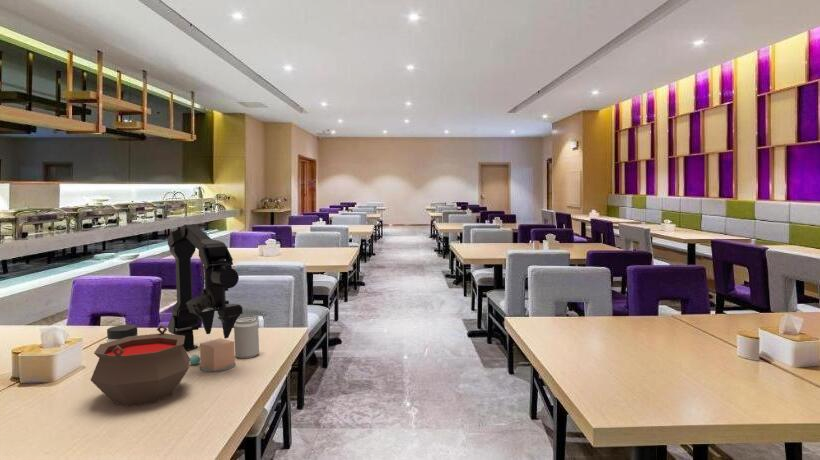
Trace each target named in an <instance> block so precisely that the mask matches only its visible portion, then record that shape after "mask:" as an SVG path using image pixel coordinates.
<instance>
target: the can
mask: <svg viewBox="0 0 820 460" xmlns="http://www.w3.org/2000/svg"><path fill="white" fill-rule="evenodd" d="M233 333H234V334H233V336H234V337H233V339H234V355H235V356H236V357H237V358H239V359H252V358H255V357H257V356H258V354H259V353H260V339H259V322H258V321H257V319H256V318H255V317H251V316H250V317H242V318H241V317H240V318H237V320H236V322H235V324H234V326H233Z"/></svg>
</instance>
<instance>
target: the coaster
mask: <svg viewBox="0 0 820 460" xmlns="http://www.w3.org/2000/svg"><path fill="white" fill-rule="evenodd" d="M235 366H236V362H235V364H234V365H231V366H227V367H224V368H221V369H218V370H211V369H208V368H205V367H201V366H200V367H199V368H200V371H201V372H202V371H203V372H206V373H207V372H208V373H216V372H217V373H218V372H223V371H228V370H230V369H233V368H234V367H235Z"/></svg>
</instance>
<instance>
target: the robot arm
mask: <svg viewBox="0 0 820 460" xmlns="http://www.w3.org/2000/svg"><path fill="white" fill-rule="evenodd" d="M167 245H168V247H169V252H170V254H171V255H172V257H173V258H174V261H175V282H176V283H175V285H176V286H175V287H176V303H175V304H174V306H173V308H171V309H172V310H171V317H170V319H169V322H168V324H167V331H168V333H169V334H174V335H182V336H185V339H184V344H183V347H184V349H185V350H186V352H187V351H190V350H194V349H197V348H199V346H198V345H196V344H195V342H194V341H195V340H194V331H197V330H199V328H200V321H201V323H202V326H203V329H204V332H205V334H206V335H210V334H211V331H212V329H213V325H214V324H213V323H214V319H215V317H214V316H215V312H217V314H218V316H217V318H218V320H219V321H221V324H222V332H223V336H224V337H223V339H229V336H230V334H231V333H232V330H233V329H234V324H235V323H236V320H237V319H239V317H241V315H242V314H244V309H243V306H242V305H241V304H239V303H230V301H229V300H226V299H227V298H226V297H227V296H226V294H227V293H226V292H229V289H232V288H234V287H235V286H236V285H237V284H238V283H239V278H240V277H239V274H238V272H237V270H236V269H234V268H232V267H233V266H234V263H233V261H234V259H233V257H232V255H231V252H230V251H229V248H228V246H227V245H226V243H224V242H223V241H221V240H216V239H213V238H211V237H210V236H209V235H208V234H207V233H205V232H204V230H202V229H201V227H200V225H199V224H196V223H195V224H194V223H192V224H191V223H190V224H183V225H181V226H180V228H178V229H176V230H174V231H172V232H171V233H170V234H169V236H168V237H167ZM196 249H197V250H198V258H199V259H200V261H201V262H202V265H203V266H202V269H203V272H204V276H203V277H204V288H201V290H200V291H201V292H200V293H201V294H199V295H197V296H195V297H193V291H192V290H193V289H192V287H193V286H192V285H193V284H192V267H191V266H192V261H191V260H192V257H193V255H195V252H196Z"/></svg>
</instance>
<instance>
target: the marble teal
mask: <svg viewBox="0 0 820 460" xmlns="http://www.w3.org/2000/svg"><path fill="white" fill-rule="evenodd" d="M189 358H190V363H189V364H191V365H194V366H196V365H198V364H199V363H201V360H200V355H198V354H193V355H191V356H190V357H189Z"/></svg>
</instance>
